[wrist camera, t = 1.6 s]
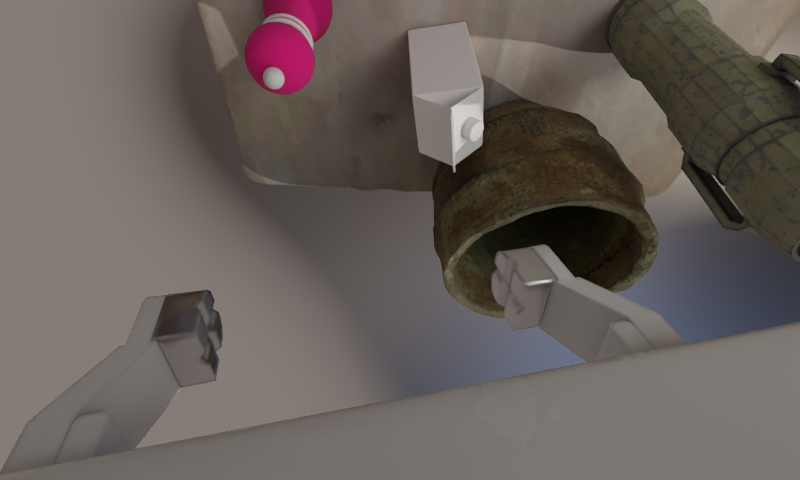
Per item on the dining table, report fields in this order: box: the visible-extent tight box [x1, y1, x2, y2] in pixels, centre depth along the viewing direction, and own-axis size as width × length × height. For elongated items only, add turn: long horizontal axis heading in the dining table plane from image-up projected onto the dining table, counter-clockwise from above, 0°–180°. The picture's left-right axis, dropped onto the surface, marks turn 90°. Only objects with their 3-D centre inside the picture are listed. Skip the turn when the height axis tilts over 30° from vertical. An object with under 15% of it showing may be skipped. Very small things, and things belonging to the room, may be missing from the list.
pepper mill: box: [245, 0, 332, 94], centre depth 41 cm, size 7×7×20 cm
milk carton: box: [408, 22, 484, 172], centre depth 47 cm, size 7×7×19 cm
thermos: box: [606, 0, 800, 262], centre depth 39 cm, size 9×12×35 cm
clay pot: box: [432, 100, 658, 318], centre depth 56 cm, size 25×25×25 cm
